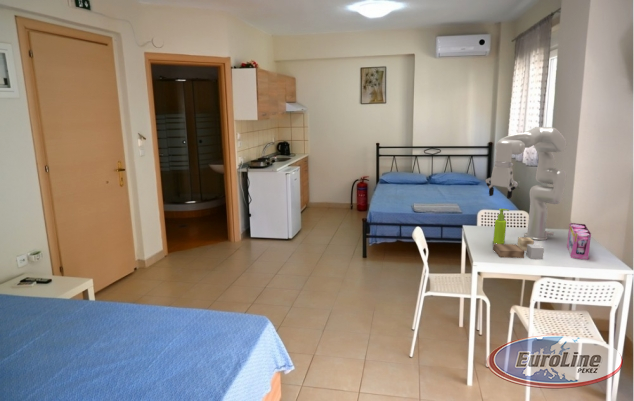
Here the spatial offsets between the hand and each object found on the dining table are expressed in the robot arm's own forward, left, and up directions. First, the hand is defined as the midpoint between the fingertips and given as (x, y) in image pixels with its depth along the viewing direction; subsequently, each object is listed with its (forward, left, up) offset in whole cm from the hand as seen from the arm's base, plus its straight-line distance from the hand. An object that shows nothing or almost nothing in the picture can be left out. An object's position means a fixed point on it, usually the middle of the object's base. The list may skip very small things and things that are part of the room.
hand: (500, 197), depth 232 cm
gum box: (-43, -1, -30) cm, 53 cm away
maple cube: (-17, -4, -30) cm, 35 cm away
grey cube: (-17, +9, -30) cm, 36 cm away
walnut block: (-5, +5, -30) cm, 31 cm away
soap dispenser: (-7, -15, -30) cm, 35 cm away
